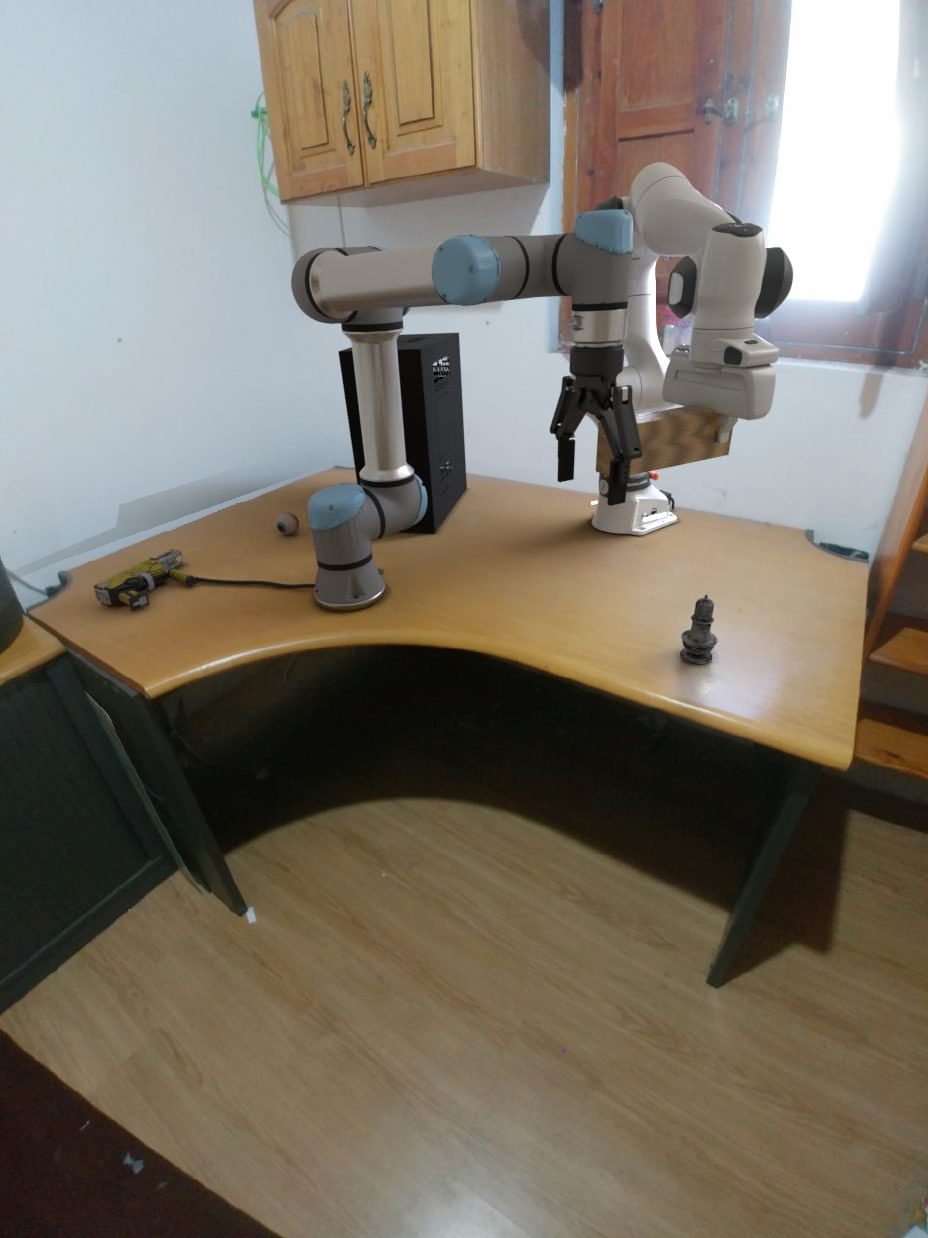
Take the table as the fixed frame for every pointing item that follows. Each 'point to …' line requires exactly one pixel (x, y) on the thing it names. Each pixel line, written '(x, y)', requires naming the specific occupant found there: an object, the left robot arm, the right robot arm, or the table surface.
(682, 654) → the dark grey piece
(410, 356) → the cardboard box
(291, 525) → the eyeball
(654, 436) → the bar
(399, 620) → the table surface
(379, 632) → the table surface
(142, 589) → the toy gun
